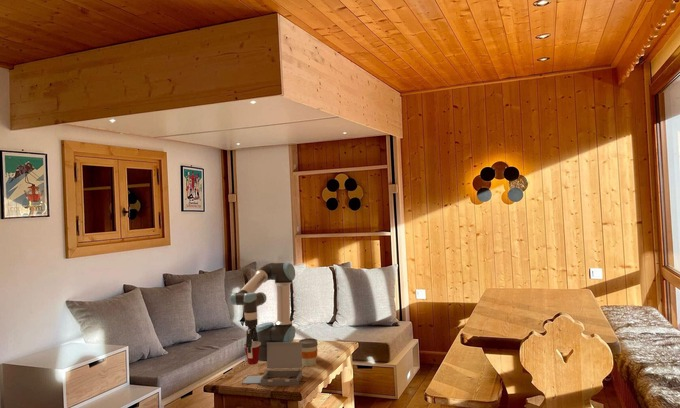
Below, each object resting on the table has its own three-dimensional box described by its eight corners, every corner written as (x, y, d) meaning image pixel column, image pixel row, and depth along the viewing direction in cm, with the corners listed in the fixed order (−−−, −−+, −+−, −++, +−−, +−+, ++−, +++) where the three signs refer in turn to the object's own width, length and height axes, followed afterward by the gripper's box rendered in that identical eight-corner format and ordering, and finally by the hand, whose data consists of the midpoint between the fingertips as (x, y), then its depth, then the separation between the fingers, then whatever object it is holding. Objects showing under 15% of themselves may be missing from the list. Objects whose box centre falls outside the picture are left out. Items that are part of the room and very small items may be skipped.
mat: (247, 376, 330) (247, 376, 330) (265, 376, 329) (265, 375, 329) (242, 384, 318) (242, 383, 318) (260, 383, 317) (260, 382, 317)
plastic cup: (240, 365, 320) (239, 345, 319) (248, 360, 330) (247, 340, 330) (257, 366, 317) (256, 346, 317) (264, 360, 327) (263, 341, 327)
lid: (266, 370, 329) (267, 369, 331) (301, 370, 327) (302, 369, 329) (266, 342, 332) (267, 342, 333) (301, 342, 329) (301, 342, 331)
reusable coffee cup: (316, 367, 343) (315, 343, 343) (297, 366, 346) (296, 343, 346) (320, 360, 356) (319, 338, 355) (302, 360, 358) (301, 338, 358)
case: (267, 376, 330) (266, 370, 330) (302, 375, 328) (302, 370, 328) (260, 386, 313) (260, 380, 313) (297, 386, 311) (297, 380, 311)
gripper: (250, 314, 335) (251, 349, 335) (239, 323, 312) (241, 361, 312) (261, 314, 334) (263, 349, 335) (252, 323, 311) (253, 361, 312)
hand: (252, 355), depth 323 cm, fingers closed on plastic cup, 11 cm apart
